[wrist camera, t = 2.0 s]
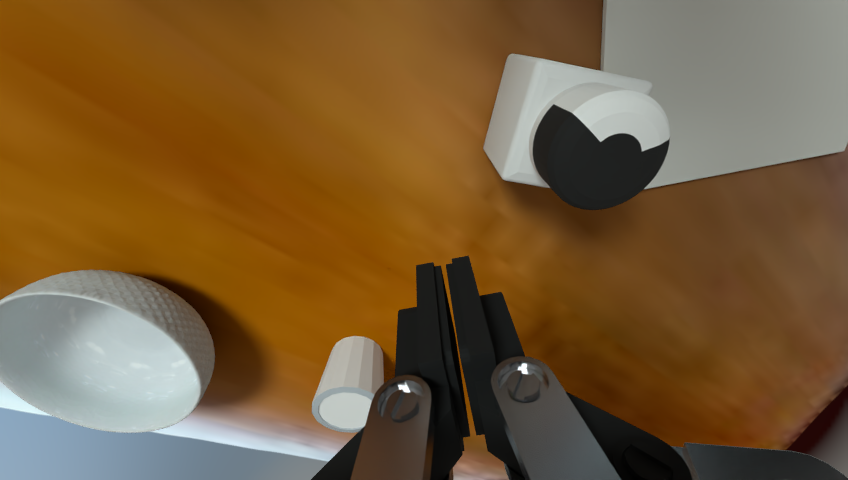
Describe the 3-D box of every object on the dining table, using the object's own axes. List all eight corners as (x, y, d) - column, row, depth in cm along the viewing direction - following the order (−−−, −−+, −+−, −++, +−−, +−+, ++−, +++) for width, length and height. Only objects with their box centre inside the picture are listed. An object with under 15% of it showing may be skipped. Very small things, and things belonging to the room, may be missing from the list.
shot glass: (314, 344, 39) (296, 401, 33) (370, 323, 38) (362, 378, 32) (346, 382, 42) (335, 441, 36) (399, 364, 41) (397, 421, 35)
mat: (604, -28, 23) (608, -29, 23) (934, -104, 22) (944, -107, 22) (594, 195, 31) (597, 197, 31) (837, 149, 30) (844, 150, 29)
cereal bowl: (262, 303, 36) (232, 358, 30) (199, 392, 42) (163, 453, 36) (75, 211, 30) (-10, 255, 24) (35, 329, 37) (-41, 388, 31)
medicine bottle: (564, 164, 30) (646, 234, 19) (481, 150, 29) (521, 214, 19) (600, 72, 26) (724, 95, 16) (507, 52, 26) (574, 63, 15)
